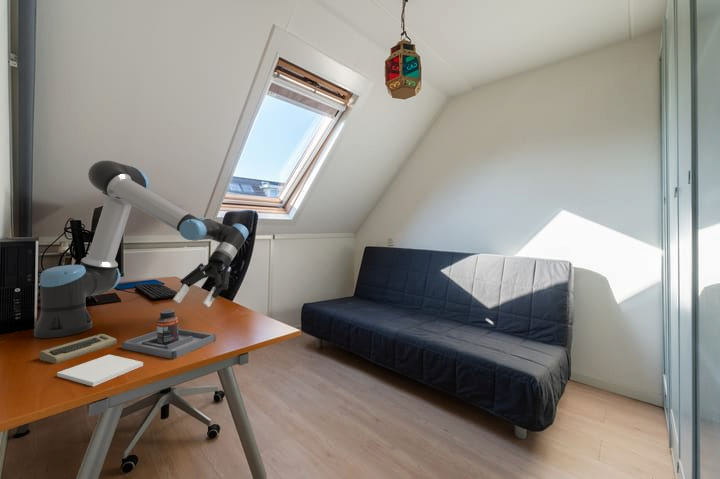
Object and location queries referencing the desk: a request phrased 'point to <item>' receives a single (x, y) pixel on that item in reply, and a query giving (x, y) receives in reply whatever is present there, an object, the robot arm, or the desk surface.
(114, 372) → the white mat
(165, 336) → the supplement bottle
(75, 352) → the computer
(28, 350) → the desk surface
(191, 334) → the grey rectangular frame tray
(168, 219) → the robot arm
